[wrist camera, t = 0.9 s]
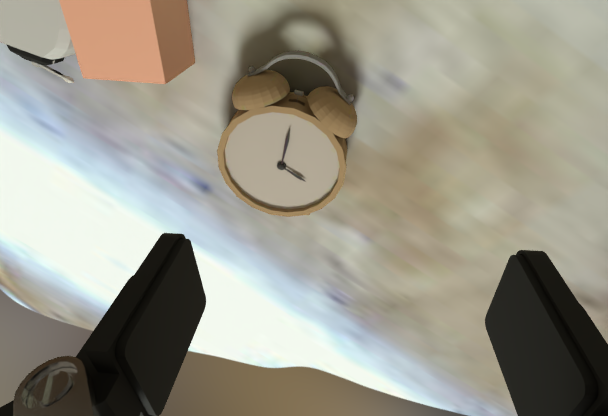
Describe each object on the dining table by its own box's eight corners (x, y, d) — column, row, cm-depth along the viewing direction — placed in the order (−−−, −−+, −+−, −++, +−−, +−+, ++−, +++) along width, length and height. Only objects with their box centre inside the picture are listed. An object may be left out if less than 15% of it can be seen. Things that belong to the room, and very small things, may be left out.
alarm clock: (213, 201, 35) (219, 48, 24) (228, 169, 38) (239, 23, 27) (325, 230, 35) (381, 94, 24) (330, 196, 39) (381, 63, 28)
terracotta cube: (105, -27, 27) (52, -23, 22) (184, -23, 26) (146, -18, 22) (126, 58, 30) (83, 78, 25) (195, 62, 30) (165, 84, 25)
